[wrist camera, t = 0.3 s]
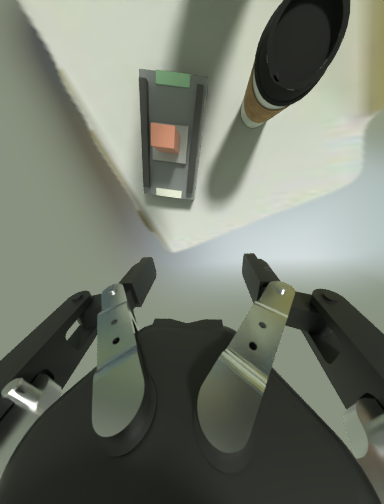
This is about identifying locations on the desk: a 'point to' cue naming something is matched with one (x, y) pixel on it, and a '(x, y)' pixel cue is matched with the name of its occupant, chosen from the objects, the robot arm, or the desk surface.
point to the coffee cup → (293, 55)
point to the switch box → (177, 113)
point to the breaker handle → (169, 142)
